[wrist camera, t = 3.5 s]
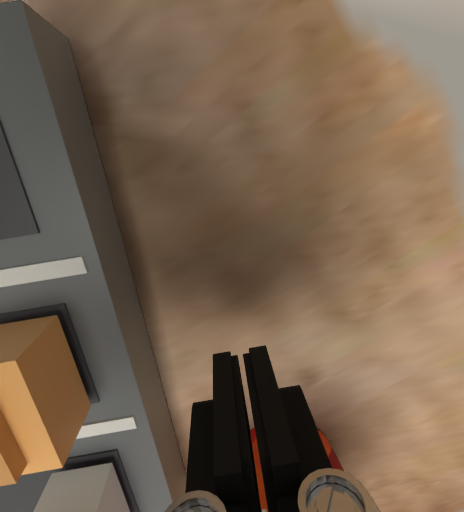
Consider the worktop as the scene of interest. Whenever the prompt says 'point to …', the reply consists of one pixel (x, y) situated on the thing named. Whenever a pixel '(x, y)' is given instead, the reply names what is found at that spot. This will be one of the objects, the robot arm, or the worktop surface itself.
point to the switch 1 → (37, 398)
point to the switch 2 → (83, 491)
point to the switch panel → (75, 268)
